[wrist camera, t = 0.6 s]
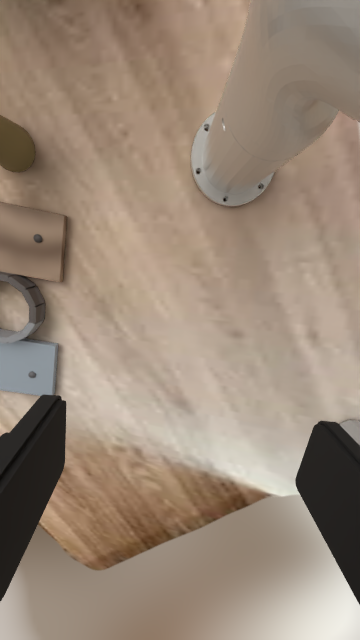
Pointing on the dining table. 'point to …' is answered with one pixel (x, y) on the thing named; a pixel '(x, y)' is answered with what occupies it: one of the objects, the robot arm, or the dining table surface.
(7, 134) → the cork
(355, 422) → the water bottle
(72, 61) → the dining table surface
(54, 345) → the leaf
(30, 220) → the leaf
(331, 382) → the dining table surface
